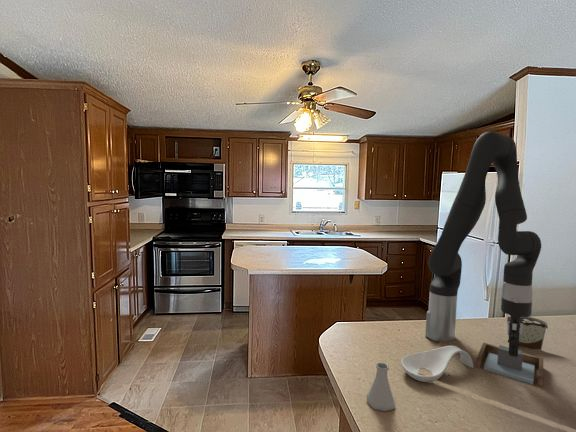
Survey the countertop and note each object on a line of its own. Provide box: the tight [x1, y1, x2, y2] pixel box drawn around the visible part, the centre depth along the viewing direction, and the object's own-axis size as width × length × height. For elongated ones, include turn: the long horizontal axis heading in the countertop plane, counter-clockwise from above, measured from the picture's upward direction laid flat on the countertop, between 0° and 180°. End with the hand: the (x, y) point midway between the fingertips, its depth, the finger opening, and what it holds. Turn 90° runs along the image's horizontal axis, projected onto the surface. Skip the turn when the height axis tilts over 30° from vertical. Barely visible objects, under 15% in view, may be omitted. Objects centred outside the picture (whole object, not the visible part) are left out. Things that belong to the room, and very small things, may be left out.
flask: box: [366, 361, 396, 412], centre depth 83 cm, size 7×7×10 cm
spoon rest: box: [400, 345, 475, 383], centre depth 98 cm, size 24×12×7 cm, turn 110°
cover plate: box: [483, 344, 535, 385], centre depth 99 cm, size 12×11×6 cm
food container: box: [518, 316, 549, 351], centre depth 117 cm, size 12×6×10 cm, turn 84°
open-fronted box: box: [475, 342, 544, 388], centre depth 100 cm, size 16×13×4 cm
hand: (513, 350), depth 99 cm, fingers open, 8 cm apart
